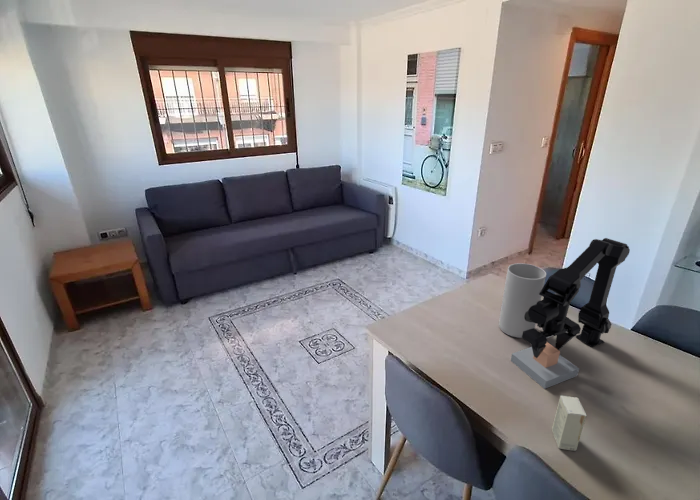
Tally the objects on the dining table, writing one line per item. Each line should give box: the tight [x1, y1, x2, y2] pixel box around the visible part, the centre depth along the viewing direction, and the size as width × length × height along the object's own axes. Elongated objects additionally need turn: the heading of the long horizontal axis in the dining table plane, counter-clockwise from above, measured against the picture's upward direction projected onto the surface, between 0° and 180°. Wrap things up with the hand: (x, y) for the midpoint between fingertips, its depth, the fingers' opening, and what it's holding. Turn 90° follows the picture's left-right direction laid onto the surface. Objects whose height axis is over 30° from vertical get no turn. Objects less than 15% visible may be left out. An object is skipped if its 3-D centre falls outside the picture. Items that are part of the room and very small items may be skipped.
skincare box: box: [551, 394, 587, 451], centre depth 94 cm, size 6×4×12 cm
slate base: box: [510, 346, 580, 389], centre depth 120 cm, size 14×14×3 cm
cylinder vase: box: [498, 262, 547, 339], centre depth 136 cm, size 12×12×25 cm
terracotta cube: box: [533, 341, 561, 368], centre depth 119 cm, size 5×5×5 cm
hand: (546, 353), depth 119 cm, fingers open, 9 cm apart
